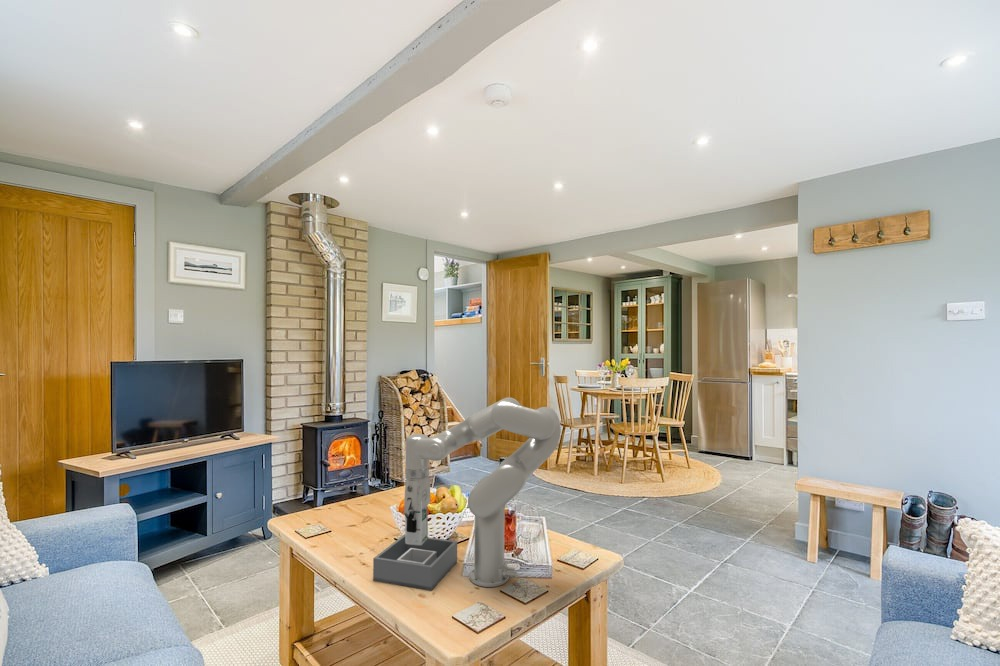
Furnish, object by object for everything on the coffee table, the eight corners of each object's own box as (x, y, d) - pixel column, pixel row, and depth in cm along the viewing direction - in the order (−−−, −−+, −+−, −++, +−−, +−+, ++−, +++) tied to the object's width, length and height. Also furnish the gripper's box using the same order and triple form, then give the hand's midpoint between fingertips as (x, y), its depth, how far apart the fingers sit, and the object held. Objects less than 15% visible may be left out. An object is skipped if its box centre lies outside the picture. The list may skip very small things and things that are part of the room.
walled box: (457, 562, 166) (457, 541, 166) (431, 590, 147) (431, 567, 147) (404, 554, 172) (404, 534, 172) (373, 580, 153) (373, 558, 153)
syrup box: (421, 546, 156) (422, 500, 156) (404, 544, 157) (404, 499, 158) (427, 538, 162) (428, 494, 162) (411, 537, 163) (411, 493, 163)
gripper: (415, 481, 151) (414, 539, 150) (438, 467, 167) (438, 520, 167) (393, 478, 153) (392, 536, 153) (419, 465, 169) (418, 517, 169)
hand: (416, 527), depth 160 cm, fingers closed on syrup box, 6 cm apart
